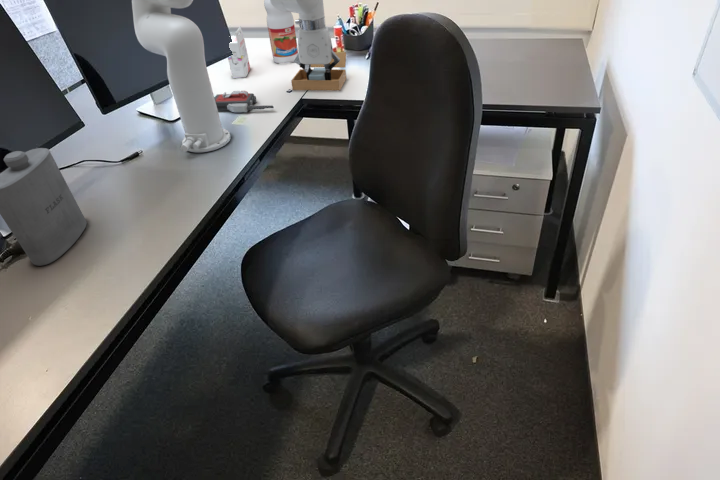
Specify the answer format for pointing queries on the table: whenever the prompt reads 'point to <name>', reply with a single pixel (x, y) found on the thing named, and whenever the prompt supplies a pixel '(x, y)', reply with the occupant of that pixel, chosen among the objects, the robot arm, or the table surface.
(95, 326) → the table surface
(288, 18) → the fruit juice
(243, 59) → the ink cartridge box
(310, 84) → the carton
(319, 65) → the flap
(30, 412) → the table surface
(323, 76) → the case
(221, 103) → the toy chainsaw
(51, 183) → the flask
